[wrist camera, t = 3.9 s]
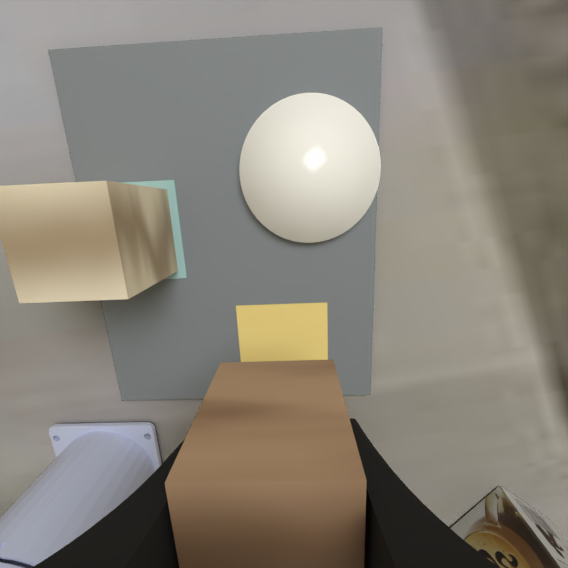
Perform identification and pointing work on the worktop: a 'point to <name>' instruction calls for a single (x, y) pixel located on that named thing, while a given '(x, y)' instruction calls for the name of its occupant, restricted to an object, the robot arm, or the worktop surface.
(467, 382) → the worktop surface
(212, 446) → the walnut block
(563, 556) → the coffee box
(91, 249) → the beech block
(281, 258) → the grey board
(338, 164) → the white flat disc
